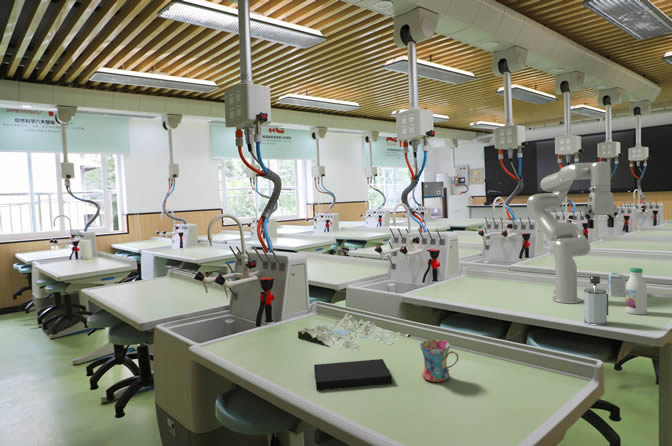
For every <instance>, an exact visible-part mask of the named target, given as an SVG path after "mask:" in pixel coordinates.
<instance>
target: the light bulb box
mask: <svg viewBox="0 0 672 446" xmlns="http://www.w3.org/2000/svg"><path fill="white" fill-rule="evenodd" d="M607 294H608V296H610V297H613V298H615V297H617V298H618V297H619V298H626V275H625V274H624V273H623V272H607Z"/></svg>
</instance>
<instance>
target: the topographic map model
mask: <svg viewBox="0 0 672 446" xmlns="http://www.w3.org/2000/svg"><path fill="white" fill-rule="evenodd" d="M402 335H404V336H405V338H409V337H410V336H411V334H410V333H406V334H404V333H403V332H400V331H398V332H395V331H394V330H393V331H392V330H391V329H390V330H389V329H386V328H382V327H380V326H377V325H376V324H375V322H374V321H371V320H368V321H365V320H364V318H361V319H359V321H358V319H355V317H354V316H353V315H351V314H350V313H348V312H347V313H345V314H344V317H343V318H342V319H341V320H339V321H338V320H335V321H334V322H332V324H331V325H328V324H325V325H324V324H321V325H319V324H317V325H316V326H314V328H305V327H304V328H302V329H300V330H298V331H297V338H298V339H300V340H303V341H307V342H310V343H313V344H316V345H320V346H323V347H328V348H332V346H333V345H337V346H339V347H338V351H340V350H341V351H342V350H343V351H344V350H349V349H350V350H349V351H350V352H354V351H359V350H360V347H361V345H358V344H359V341H356V340H361V341H367V342H369V341H372V340H374V342H378V343H381V344H386V345H388V346H389V345H393V344H394V342H395V341H397V342H399V341H400V338H394V337H395V336H399V337H400V336H402ZM356 337H357V338H356ZM354 338H356V340H354Z"/></svg>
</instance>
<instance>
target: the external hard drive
mask: <svg viewBox="0 0 672 446" xmlns="http://www.w3.org/2000/svg"><path fill="white" fill-rule="evenodd" d="M313 369H314V371H313V373H314V377H315V378H314V380H315V387H316V391H317V390H319V391H327V390H326V389H330V390H340V389H339V388H341V389H350V388H362V387H373V386H384V385H385V386H386V385H392V384H393V379H392V378H393V377H392V374H391V372H390V370H389V369H388V367H387V364H386V362H385V361H384V359H383V358H377V359H366V360H364V359H363V360H354V361H343V362H330V363H317V364H313Z"/></svg>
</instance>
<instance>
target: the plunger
mask: <svg viewBox="0 0 672 446" xmlns="http://www.w3.org/2000/svg"><path fill="white" fill-rule="evenodd" d="M589 283H590V284H593V288H594V291H597V285H599V284H601V276H599V275H590V276H589Z"/></svg>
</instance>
